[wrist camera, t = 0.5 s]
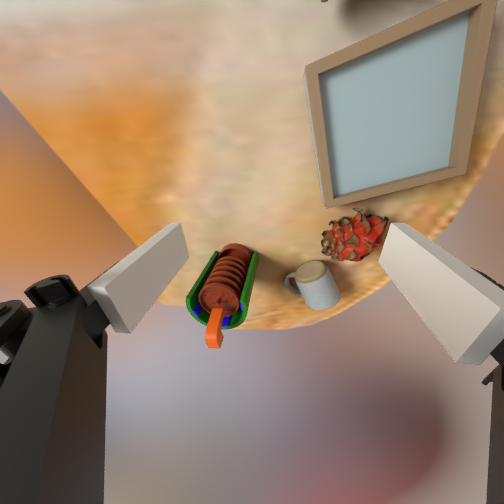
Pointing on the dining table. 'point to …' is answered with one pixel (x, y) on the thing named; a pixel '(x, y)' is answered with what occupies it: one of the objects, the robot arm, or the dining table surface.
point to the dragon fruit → (353, 237)
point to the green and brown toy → (223, 291)
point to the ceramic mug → (315, 285)
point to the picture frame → (399, 103)
